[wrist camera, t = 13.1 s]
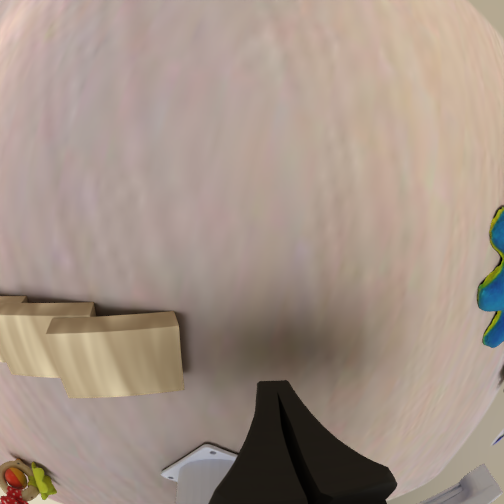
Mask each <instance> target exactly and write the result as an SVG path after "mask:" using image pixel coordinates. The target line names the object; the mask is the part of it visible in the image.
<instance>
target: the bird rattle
mask: <svg viewBox="0 0 504 504" xmlns="http://www.w3.org/2000/svg"><path fill="white" fill-rule="evenodd" d="M24 473H25V474H26V475H27V476H28V480H29V482H28V484H27V478H26V476H25V474H24ZM6 481H7V482H8V484H9V485H10V486H8V484H7V482H6ZM27 485H28V488H27V489H25V487H26V486H27ZM0 487H1V488H2V490H3V491H4V492H5V493H6V494H7V496H1V498H0V499H1V502H0V504H28V503H27V501H30V500H32V499H34V498H35V497H36V496H37V495H38V494H39V493H41V497H42V499H43V500H45V499H46V498H47V497H48V495H51V494H55V493H57V491H56V489H55V488H54V486H53V484H52V482H51V478H50V477H49V476H47V475H44V471H43V469H42V468H36V464H35V463H34V462H32V469H31V468H29V467H28V466H27V465H25V464H24V463H23V462H22V461H21V460H20V459H17V460H15V461H9V462H6V463H4V464H2V465H1V466H0ZM23 489H24V490H23Z"/></svg>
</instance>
